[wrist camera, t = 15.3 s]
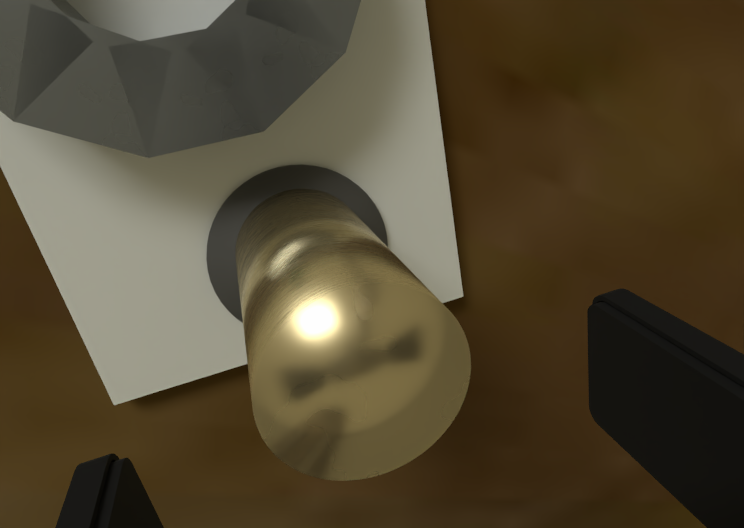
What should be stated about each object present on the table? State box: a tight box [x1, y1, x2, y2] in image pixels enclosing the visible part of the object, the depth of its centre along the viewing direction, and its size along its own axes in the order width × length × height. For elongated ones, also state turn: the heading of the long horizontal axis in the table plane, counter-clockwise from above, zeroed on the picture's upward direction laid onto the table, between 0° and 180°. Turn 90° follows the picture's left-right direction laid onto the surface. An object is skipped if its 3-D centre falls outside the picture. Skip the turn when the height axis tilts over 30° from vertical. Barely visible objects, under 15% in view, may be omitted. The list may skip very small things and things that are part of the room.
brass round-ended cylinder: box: [235, 188, 471, 481], centre depth 16 cm, size 5×5×10 cm
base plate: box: [0, 0, 463, 405], centre depth 18 cm, size 15×22×1 cm
